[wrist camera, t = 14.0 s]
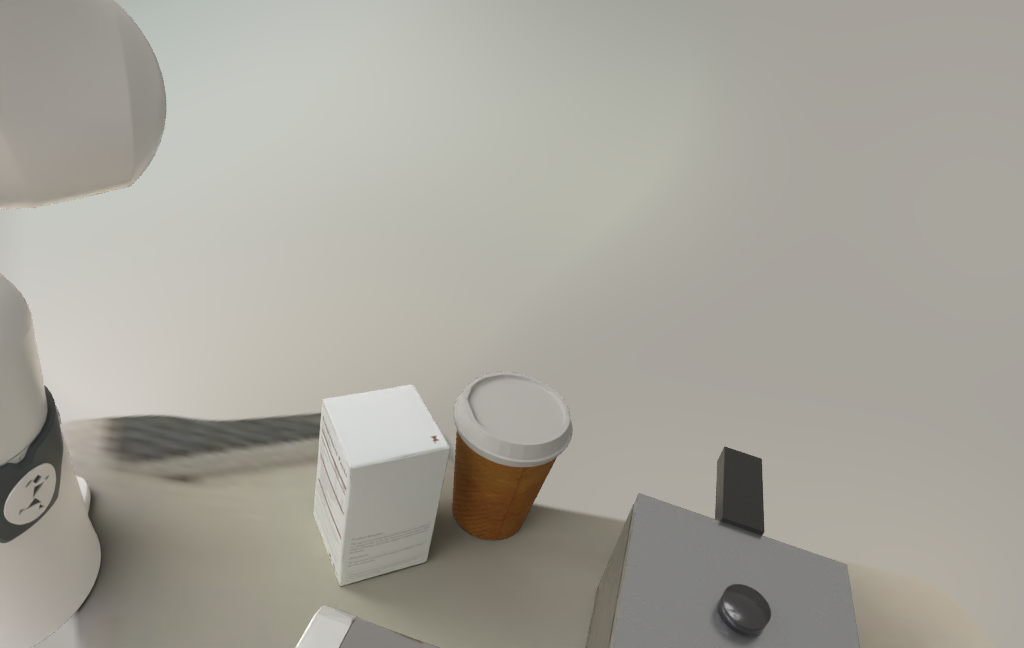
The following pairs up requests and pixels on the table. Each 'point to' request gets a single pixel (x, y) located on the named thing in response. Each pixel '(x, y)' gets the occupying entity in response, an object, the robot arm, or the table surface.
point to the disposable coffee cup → (504, 450)
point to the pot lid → (726, 577)
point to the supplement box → (378, 481)
